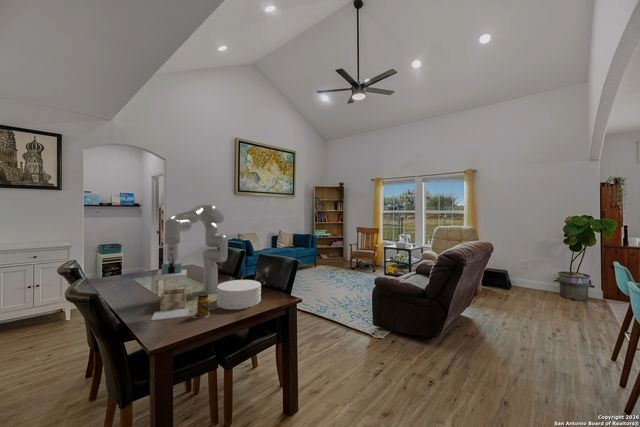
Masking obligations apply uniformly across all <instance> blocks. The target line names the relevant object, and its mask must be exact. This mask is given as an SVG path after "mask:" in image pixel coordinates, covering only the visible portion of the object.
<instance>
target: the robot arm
mask: <svg viewBox="0 0 640 427" xmlns="http://www.w3.org/2000/svg"><path fill="white" fill-rule="evenodd" d="M224 219H225V216H224V213H223V212H222V211H221V210H220V209H219V208H218V207H217V206H215V205H213V204H198V205H197V206H195V207H193V208H192V209H190V210H188V211H185V212H181V213H177V214H174V215H172V216H170V217H169V218H168V219H166V220H165V222H164V244H165V245H166V261H167V262H168V264H169V267H168V274H172V273H175V266H174V264H175V263H176V262H177V261H178V260H179V244H180V243H181V240H180V239H181V232H188V231H189V230H190V229H191V228H192V224H195V223H197V222H199V221H201V222H202V224H203V226H204V229H205V238H204V239H205V246H206V247H208V248H207V249H205V250H204V251H203V252H202V259H203V260H202V261H203V288H202V289H201V294H214V292H215V293H217V286H218V285H219V284H218V277H219V276H218V269H219V268H218V264H217V263H225V262H226V261H227V260H228V256H229V255H228V252H229V251H228V249H229V247H228V246H229V239H228V236H227V235H225V234H219V229H218V228H219V227H218V225H217V224H221V223H223V222H224Z"/></svg>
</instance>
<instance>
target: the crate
mask: <svg viewBox="0 0 640 427" xmlns="http://www.w3.org/2000/svg"><path fill="white" fill-rule="evenodd" d="M186 303H187V288H186V287H185V288H173V289H171V288H170V289H163V291H162V292H161V293H160V306H159V309H160V310H159V311H166V310H175V309H185V308H186Z"/></svg>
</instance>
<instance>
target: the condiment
mask: <svg viewBox="0 0 640 427" xmlns="http://www.w3.org/2000/svg"><path fill="white" fill-rule="evenodd" d="M197 298H198V299H197V303H196V304H197V305H196V306H197V307H196V309H197V310H196V311H197V312H195V313H193V316H191V317H192V319H197V318H198V319H201V318H203V319H204V318H208V317H209V316H210V314H211V312H209V311H210V310H209V308H210V306H209V305H210V304H209V303H210V302H209V301H210V299H209V293H200V294H198V297H197Z"/></svg>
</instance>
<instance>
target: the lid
mask: <svg viewBox="0 0 640 427" xmlns="http://www.w3.org/2000/svg"><path fill="white" fill-rule="evenodd" d="M174 266H175V273H172V274H168V267H169V263H162V264H161V270H158V271H157V273H156V274H155V275H154V281H170V280H182V279H183V280H185V279H186V277H187V271H188V270H187V269H186V268H185V269H183V268H182V267H183V263H182V262H181V263H180V262H179V263H176V262H175V264H174Z"/></svg>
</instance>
